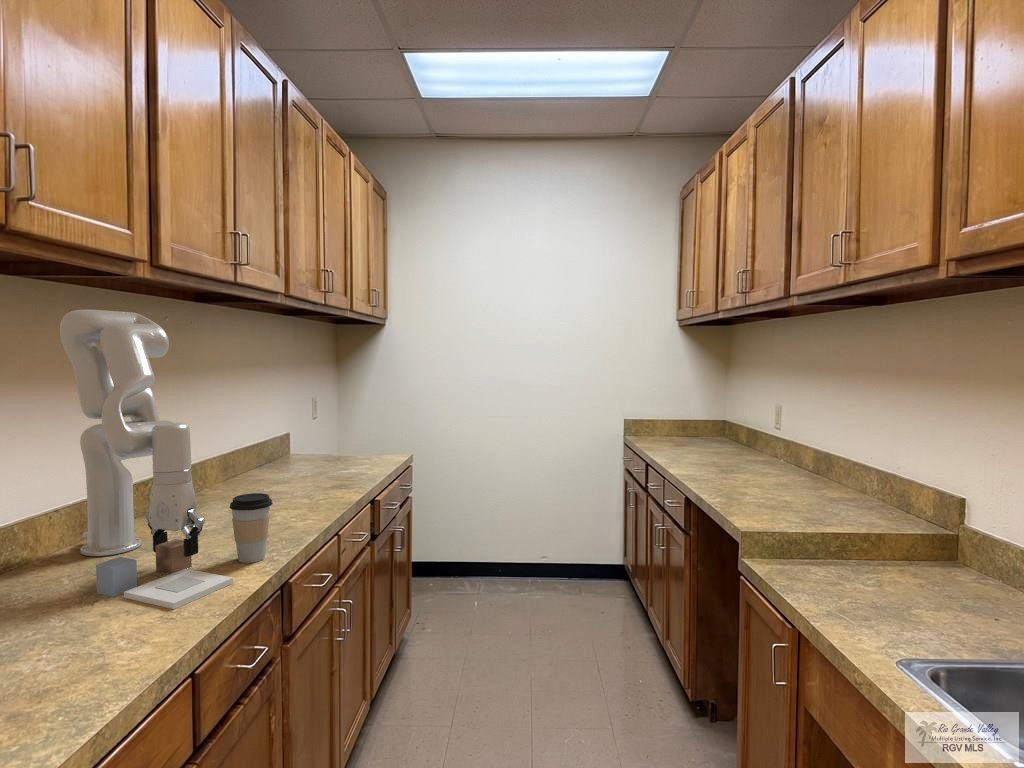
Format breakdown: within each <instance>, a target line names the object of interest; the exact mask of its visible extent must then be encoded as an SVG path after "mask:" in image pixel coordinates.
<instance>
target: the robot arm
mask: <svg viewBox="0 0 1024 768" xmlns="http://www.w3.org/2000/svg"><path fill="white" fill-rule="evenodd" d="M59 326H60V327H59V335H60V337H59V338H60V342H61V344H62V347H63V350H64V352H65V353H66V356H67V358H68V359H69V361H70V363H71V367H72V368H73V372H74V378H75V383H76V388H77V394H78V399H79V405H80V407H81V411H82V413H83V414H84V415H85V417H87V418H89V419H92V420H93V419H94V420H101V423H99V424H95V425H92V426H89V427H87V428H85V430H83V432H82V434H81V436H80V438H79V443H80V445H79V446H80V450H81V454H82V458H83V462H84V469H85V476H86V477H85V480H86V481H85V482H86V483H85V484H86V504H87V505H86V506H87V510H86V511H87V512H86V513H87V531H84V532H83V533H82V538H86V540H87V541H86V544H84V545H82V546H81V547H80V554H81V555H84V556H87V557H104V556H113V555H114V556H115V555H117V554H118V555H119V554H123V553H126V552H130V551H132V550H135V549H138V548H139V547H140V546H141V545H142V538H140V537H137V536H135V524H134V522H135V519H134V484H133V483H134V482H133V476H132V474H131V472H130V470H129V469H128V468H127V467H126V466H125V465H124V464H123V463H122V461H125V460H130V459H135V458H142V457H143V458H145V457H149V456H152V477H153V481H152V483H153V484H151V488H150V494H149V507H148V512H147V513H146V514H145V519H146V521H147V525H148V528H149V529H150V534H151V536H152V547H153V548H152V550H153V552H154V553H156V545H159V544H162V543H165V542H168V541H169V539H168V531H172V532H178V531H181V532H182V534H183V535H184V538H183V540H184V556H185V557H188V556H191V557H192V556H194V555H196V554H198V553H199V536H200V535H201V532H202V530H203V526H204V523H205V518H204V517H203V516H202V515H201V514H199V513H198V511H197V510H198V506H197V499H196V493H195V489H194V484H193V479H192V478H193V475H192V473H193V472H192V453H191V452H192V450H191V430H190V429H191V428H190V426H189V425H188V424H187V423H183V422H173V421H171V420H160V418H159V412H158V409H157V408H158V407H157V403H156V398H155V394H154V392H153V390H152V389H151V387H152V386H153V384H155V382H156V377H155V373H154V371H153V369H152V364H151V362H150V359H151V358H153V359H155V358H156V359H157V358H162V357H164V356H165V355H166V354H167V353H168V352H169V346H170V341H169V337H168V335H167V333H166V331H165V330H164V329H163V328H162V326H160V325H159V324H158V323H156V322H154V321H153V320H151V319H150V318H148V317H145V316H144V315H142V314H140V313H137V312H131V311H119V310H115V311H114V310H105V309H104V310H103V309H77V310H76V309H75V310H72V311H69V312H67V313H65V314H64V316H63V317H62V318H61V321H60V325H59ZM98 345H100V346H101V348H100V347H98ZM124 418H130V421H129V420H128V421H125V419H124Z"/></svg>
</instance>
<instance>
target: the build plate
mask: <svg viewBox="0 0 1024 768" xmlns="http://www.w3.org/2000/svg"><path fill="white" fill-rule="evenodd" d="M232 584H234V577H231V576H226V575H222V574H221V575H220V574H215V573H212V572H205V571H202V570H201V571H200V570H196V569H191V568H188V569H183V570H181V571H178V572H175V573H173V574H167V575H165V576H162V577H160V578H158V579H157V578H156V579H154V580H152V581H149V582H146V583H144V584H141V585H137V587H136V588H133V589H130V590H128V591H125V592H124V593H123V598H124V599H127V600H128V599H129V600H133V601H136V602H141V603H145V604H150V605H154V606H158V607H162V608H166V609H170V610H175V609H178V608H180V607H183V606H186V605H187V604H190V603H192V602H194V601H196V600H198V599H201V598H203V597H206V596H207V595H210V594H212V593H214V592H217V591H218V590H221V589H224V588H226V587H228V586H230V585H232Z"/></svg>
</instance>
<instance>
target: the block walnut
mask: <svg viewBox="0 0 1024 768" xmlns="http://www.w3.org/2000/svg"><path fill="white" fill-rule="evenodd" d="M192 560H193V559H192V555H191V556H188V557H185V556H184V539H183V540H182V539H177V538H175V539H171V540H168V542H165V543H162V544H159V545H156V552H155V571H158V572H157V573H161V572H163V573H162V574H166V573H168V574H167V575H170V574H173V573H175V572H178V571H181V570H183V569H187V568H188V569H191V568H192V567H193V566H192V564H193V563H192ZM190 567H191V568H190Z"/></svg>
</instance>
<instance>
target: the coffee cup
mask: <svg viewBox="0 0 1024 768" xmlns="http://www.w3.org/2000/svg"><path fill="white" fill-rule="evenodd" d="M272 505H273V499H271V498H270V495H269V494H267V493H261V492H260V493H259V492H258V493H256V492H253V493H245V494H240V495H237V496H234V497H233V498H232V501H231V502H230V504H229V509H230V510H231V514H232V528H233V536H234V542H235V545H236V553H237V554H236V555H237V561H238V562H239V563H243V564H251V563H257V562H260V561H262V560H264V559H265V558H266V552H267V551H266V550H267V549H266V548H267V540H268V536H269V528H270V527H269V525H270V515H271V514H270V509H271V508H270V507H272Z"/></svg>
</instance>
